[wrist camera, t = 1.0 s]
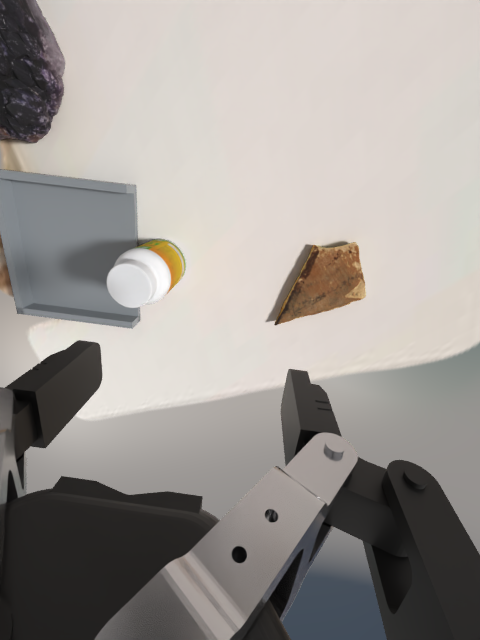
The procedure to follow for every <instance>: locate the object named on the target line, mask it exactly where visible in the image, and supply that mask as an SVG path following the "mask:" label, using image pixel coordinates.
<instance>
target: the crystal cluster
mask: <svg viewBox="0 0 480 640" xmlns="http://www.w3.org/2000/svg"><path fill="white" fill-rule="evenodd" d="M64 69H65V59H64V56H63V54H62V52H61V50H60V48H59V46H58V44H57V41H56V39H55V36H54V34H53V32H52V30H51V28H50V26H49V24H48V23H47V21H46V19H45V18H44V16H43V15H42V11H41V9H40V8H39V6H38V4H37V2H36V0H0V139H5V138H11V139H19V140H23V141H28V142H34V143H37V142H38V140H39V139H41V138H43V137H44V136H45V135H46V134H48V132H49V130H50V128H51V122H52V119H53V116H54V115H56V114H57V113H58V110H59V107H60V105H61V100H62V96H63V93H64V86H63V82H62V76H63V73H64Z"/></svg>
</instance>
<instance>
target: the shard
mask: <svg viewBox="0 0 480 640" xmlns="http://www.w3.org/2000/svg"><path fill="white" fill-rule="evenodd" d="M365 296H366V291H365V281H364V277H363V273H362V268H361V263H360V259H359V247H358V245H357V243H356V242H353V243H349V244H347V245H343V246H338V247H334V248H324V247H320V246H316V245H313V247H312V249H311V252H310V254H309V257H308V259H307V261H306V262H305V264H304V265H303V268H302V270H301V273H300V275H299V277H298V278H297V280H296V282H295V284H294V285H293V287H292V289H291V291H290V293H289V295H288V297H287V298H286V300H285V302H284V304H283V306H282V308H281V312H280V313H279V316H278V318H277V320H276V322H275V325H277V324H281V323H284V322H288V321H291V320H293V319H295V318H299V317H304V316H308V315H314V314H317V313H321V312H324V311H329V310H332V309H334V308H338V307H342V306H345V305H347V304H350V303H351V302H353V301H357V300H361V299H363V298H364V297H365Z"/></svg>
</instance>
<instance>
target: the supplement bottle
mask: <svg viewBox="0 0 480 640" xmlns="http://www.w3.org/2000/svg"><path fill="white" fill-rule="evenodd" d="M185 270H186V259H185V256H184V254H183V252H182V250H181V249H180V248H179V247H178V246H177V245H176V244H175V243H173V242H171V241H169V240H165V239H155V240H152V241H149V242H147V243H145V244H142V245H140V246H138V247H135V248H133V249H130V250H128V251H126V252H124V253H123V254H122V255H120V256H119V258H118V259H117V260H116V262H115V265H114V267H113V268H112V269H111V270H110V272H109V273H108V276H107V288H108V291H109V293H110V295H111V296H112V298H113V299H114V300H115V301H116V302H118V303H119V304H121V305H123V306H125V307H129V308H137V307H141V306H143V305H146V304H152V303H155V302H157V301H159V300H160V299H162V298H163V297H164V296H165V295H166V294H167V293H168V292H169V291H170V290H171V289H172V288H173V287H174V286H175V285H176V284H177V283H178V282H179V281H180V280H181V278H182V277H183V275H184V273H185Z"/></svg>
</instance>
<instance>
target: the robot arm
mask: <svg viewBox="0 0 480 640" xmlns="http://www.w3.org/2000/svg"><path fill="white" fill-rule="evenodd" d="M101 381H102V364H101V350H100V345H99V344H98V343H95V342H88V341H81V340H79V341H77V342H75V343H74V344H73V345H71V346H70V347H68V348H67V349H66V350H62V351H60V352H57V353H55V354H52V355H50V356H49V357H47V358H46V359H44V360H43V361H42V362H41V363H40V364H37V365H36V366H35V367H33V369H32V370H29V371H28V372H26V373H25V374H23V375H22V376H21V377H19V378H18V379H16V380H15V381H14V382H12V383H11V384H10V385H8V386H7V387H5V388H0V640H291V639H290V637H289V635H288V633H287V632H286V630H285V628H284V626H283V624H282V621H283V619H284V617H285V615H286V614H287V612H288V610H289V608H290V607H291V605H292V603H293V601H294V599H295V597H296V595H297V593H298V591H299V589H300V586H301V584H302V582H303V580H304V578H305V576H306V574H307V572H308V570H309V568H310V567H311V565H312V563H313V562H314V560H315V558H316V556H317V555H318V553H319V551H320V550H321V548H322V546H323V544H324V543H325V541H326V539H327V538H328V536H329V534H330V532H331V531H332V529H333V527H336V528H338V529H340V530H342V531H344V532H346V533H348V534H350V535H352V536H354V537H357V538H359V539H361V540H363V544H364V548H365V552H366V556H367V560H368V564H369V568H370V572H371V576H372V580H373V584H374V588H375V592H376V597H377V600H378V605H379V609H380V613H381V617H382V621H383V625H384V629H385V633H386V637H387V640H480V555H479V553H478V551H477V549H476V548H475V546H474V544H473V542H472V541H471V539H470V537H469V535H468V534H467V532H466V530H465V528H464V527H463V525H462V523H461V522H460V520H459V518H458V516H457V514H456V513H455V511H454V509H453V507H452V506H451V504H450V502H449V500H448V499H447V497H446V495H445V494H444V492H443V490H442V488H441V486H440V485H439V483H438V482H437V481H436V479H435V478H434V477H433V476H432V475H431V474H430V473H428V472H427V471H426V470H424V469H423V468H422V467H420V466H418V465H416V464H414V463H411V462H408V461H404V460H395V461H392V462H391V463H390V464H389V465H388V467H387V469H385V468H382V467H380V466H377V465H374V464H372V463H369V462H367V461H365V460H363V459H361V458H359V457H358V455H357V452H356V450H355V448H354V447H353V446H352V445H351V444H350V442H348V441H347V440H346V439H344V438H343V437H342V436H341V434H340V431H339V428H338V425H337V422H336V419H335V416H334V413H333V411H332V408H331V404H330V402H329V399H328V396H327V393H326V392H325V391H324V390H323V389H322V388H321V387H320V386H319V385H315V384H311V383H310V379H309V376H308V372H307V371H301V370H293V369H289V370H288V373H287V378H286V383H285V388H284V393H283V398H282V404H281V421H282V431H283V442H284V453H285V463H286V467H285V468H284V469H280V468H279V467H277V466H276V467H273V468H272V469H271V470H270V471H269V472H268V473H267V474H266V475H265V476H264V477H263V478H262V479H261V480H260V481H259V482H258V483H257V484H256V485H255V486H254V487H253V488H252V489H251V490H250V491H249V492H248V493H247V494H246V495H245V496H244V497H243V498H242V499H241V500H240V501H239V502H238V503H237V504H236V505H235V506H234V507H233V508H232V509H231V510H230V511H229V512H228V513H227V514H226V515H225V516H224V517H223V518H222V519H221V520H218V519H217V518H216V517H215V516H213V515H212V514H210V513H208V512H207V511H204V510H202V509H201V507H202V496H195V495H188V494H181V493H174V492H157V493H147V494H136V495H126V494H123V493H121V492H119V491H117V490H115V489H112V488H110V487H108V486H105V485H103V484H101V483H99V482H97V481H91V480H85V479H78V478H71V477H63V476H61V478H60V479H59V481H58V482H57V483H56V484H55V486H54V487H53V489H46V490H41V491H37V492H33V493H30V494H27V495H26V490H27V489H26V487H27V478H26V476H27V472H26V471H27V458H26V453H25V451H26V450H27V449H28V448H29V447H30V446H32V447H39V448H46V447H47V446H48V445H49V444H50V443H51V441H52V440H53V439H54V438H55V437H56V435H58V434H59V432H60V431H61V430H62V429H63V428H64V427H65V426H66V424H67V423H68V422H69V421H70V420H71V419H72V418H73V417H74V415H75V414H76V413H77V412H78V411H79V410H80V409H81V408H82V406H83V405H84V404H85V403H86V402H87V401H88V400H89V399H90V397H91V396H92V395H93V394H94V393H95V392H96V391H97V389H98V388H99V386H100V384H101Z"/></svg>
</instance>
